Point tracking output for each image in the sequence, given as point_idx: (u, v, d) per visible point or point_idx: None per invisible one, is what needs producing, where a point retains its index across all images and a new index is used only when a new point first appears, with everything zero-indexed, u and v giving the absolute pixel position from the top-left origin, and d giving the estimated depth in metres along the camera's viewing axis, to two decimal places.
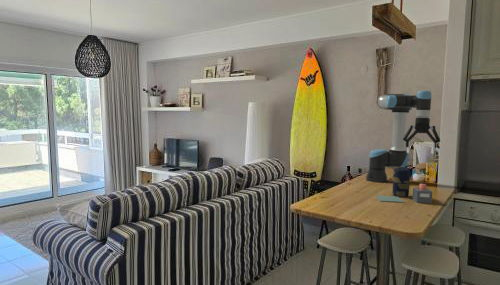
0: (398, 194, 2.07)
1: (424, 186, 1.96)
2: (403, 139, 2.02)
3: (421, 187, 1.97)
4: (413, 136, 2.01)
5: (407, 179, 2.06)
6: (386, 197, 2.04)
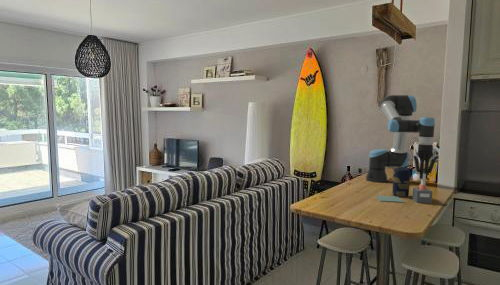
0: (398, 194, 2.07)
1: (424, 187, 1.96)
2: (417, 171, 1.97)
3: (421, 188, 1.97)
4: (423, 165, 1.95)
5: (407, 179, 2.06)
6: (386, 197, 2.04)
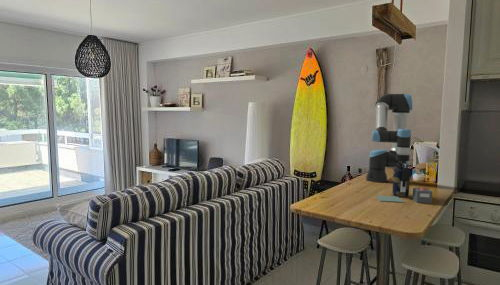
0: (398, 194, 2.07)
1: (424, 189, 1.96)
2: None
3: None
4: None
5: None
6: (386, 197, 2.04)
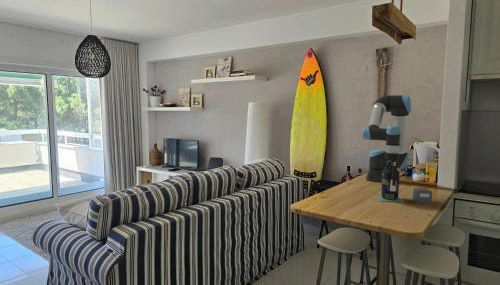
0: (387, 197, 1.98)
1: (424, 189, 1.96)
2: None
3: None
4: None
5: (396, 181, 1.96)
6: None
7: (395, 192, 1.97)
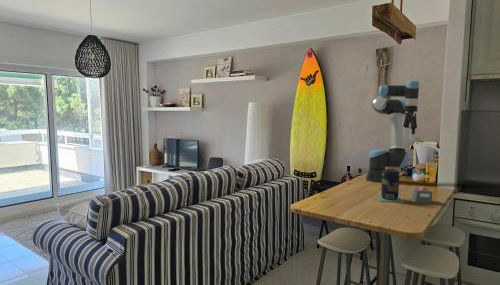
0: (387, 197, 1.98)
1: (424, 189, 1.96)
2: (404, 125, 2.29)
3: None
4: (405, 122, 2.24)
5: (396, 181, 1.96)
6: None
7: (395, 192, 1.97)
